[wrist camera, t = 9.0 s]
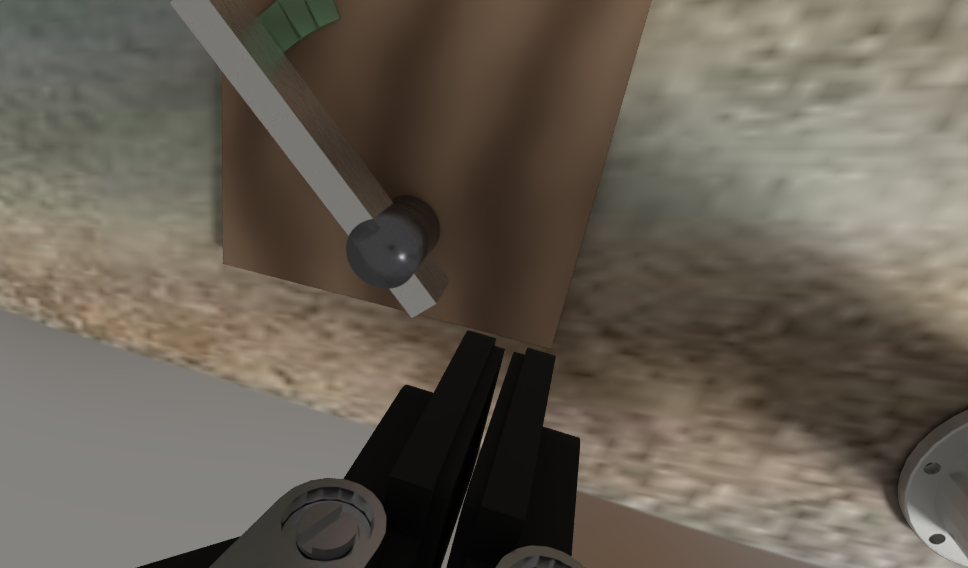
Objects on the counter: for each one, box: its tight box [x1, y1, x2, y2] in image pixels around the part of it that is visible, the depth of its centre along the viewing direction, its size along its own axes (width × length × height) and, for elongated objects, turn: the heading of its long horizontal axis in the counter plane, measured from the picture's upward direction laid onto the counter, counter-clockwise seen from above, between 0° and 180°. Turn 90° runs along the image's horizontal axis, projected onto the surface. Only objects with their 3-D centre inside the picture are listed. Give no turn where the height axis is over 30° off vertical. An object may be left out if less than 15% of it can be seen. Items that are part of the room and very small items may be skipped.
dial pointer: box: [170, 0, 450, 318], centre depth 28 cm, size 18×4×5 cm, turn 35°
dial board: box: [222, 0, 652, 349], centre depth 29 cm, size 21×23×2 cm
